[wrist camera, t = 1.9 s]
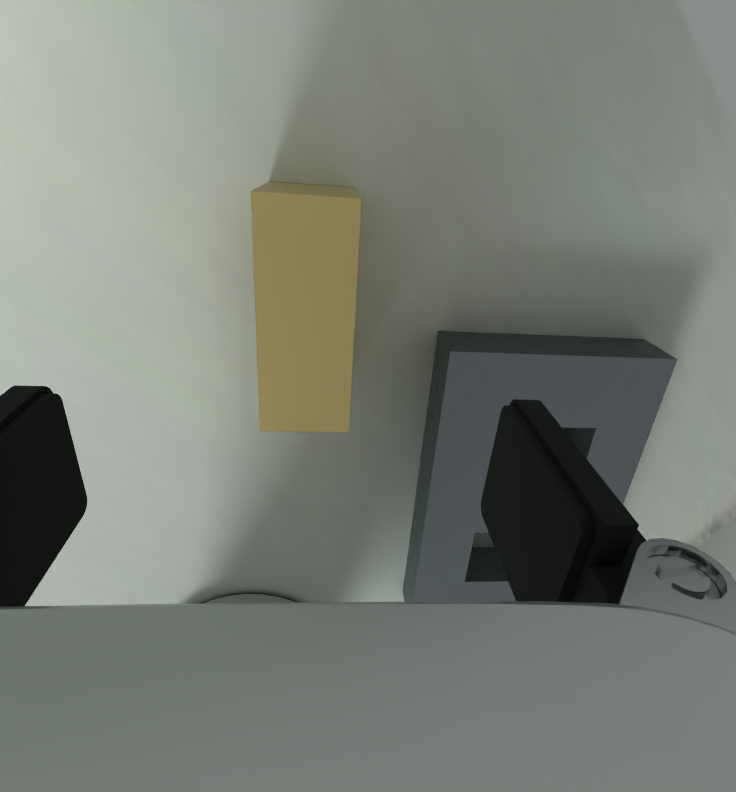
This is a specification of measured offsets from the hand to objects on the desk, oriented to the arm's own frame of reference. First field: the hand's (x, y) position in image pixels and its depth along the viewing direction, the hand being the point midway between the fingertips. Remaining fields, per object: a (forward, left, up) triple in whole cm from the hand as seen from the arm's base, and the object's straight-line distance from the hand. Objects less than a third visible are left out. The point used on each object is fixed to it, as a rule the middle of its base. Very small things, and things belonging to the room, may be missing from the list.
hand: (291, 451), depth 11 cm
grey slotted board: (-13, -13, -16) cm, 24 cm away
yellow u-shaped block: (-1, 0, -16) cm, 16 cm away
